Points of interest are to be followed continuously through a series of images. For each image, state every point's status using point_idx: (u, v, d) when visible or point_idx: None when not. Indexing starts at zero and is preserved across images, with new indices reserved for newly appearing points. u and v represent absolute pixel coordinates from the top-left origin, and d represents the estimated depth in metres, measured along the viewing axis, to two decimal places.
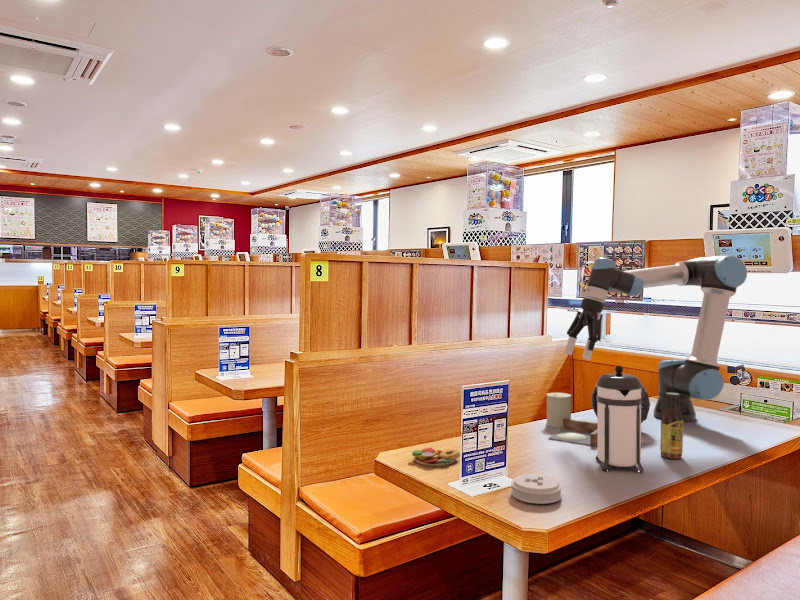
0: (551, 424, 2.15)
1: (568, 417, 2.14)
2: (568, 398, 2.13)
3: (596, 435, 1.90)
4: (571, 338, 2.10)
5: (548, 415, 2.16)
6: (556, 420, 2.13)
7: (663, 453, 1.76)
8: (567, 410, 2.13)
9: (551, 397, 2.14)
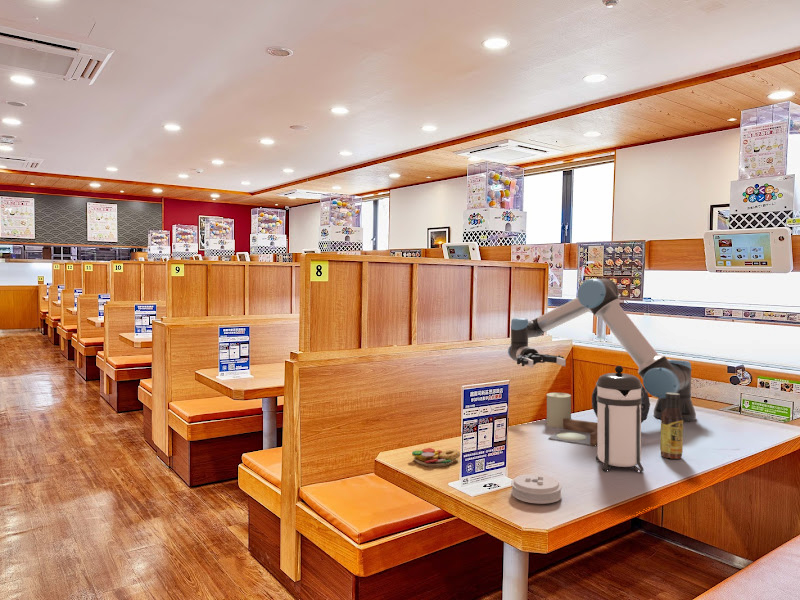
0: (551, 424, 2.15)
1: (568, 417, 2.14)
2: (568, 398, 2.13)
3: (596, 435, 1.90)
4: (557, 362, 2.33)
5: (548, 415, 2.16)
6: (556, 420, 2.13)
7: (663, 453, 1.76)
8: (567, 410, 2.13)
9: (551, 397, 2.14)
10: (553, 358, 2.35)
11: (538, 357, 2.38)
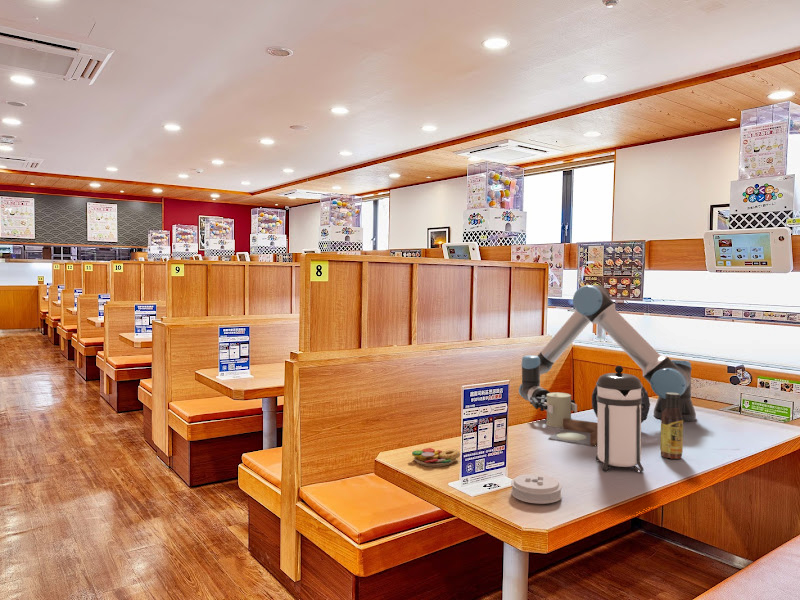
0: (551, 424, 2.15)
1: (568, 417, 2.14)
2: (568, 398, 2.13)
3: (596, 435, 1.90)
4: None
5: (548, 415, 2.16)
6: (556, 420, 2.13)
7: (663, 453, 1.76)
8: (567, 410, 2.13)
9: (551, 397, 2.14)
10: None
11: None
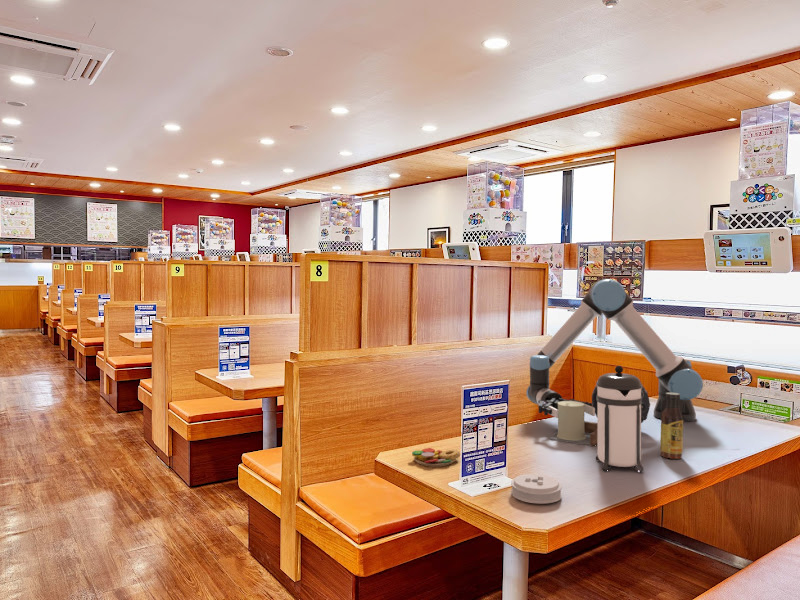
0: (563, 436, 1.97)
1: (581, 428, 1.96)
2: (581, 407, 1.95)
3: (596, 435, 1.90)
4: (584, 410, 2.03)
5: (559, 426, 1.98)
6: (569, 432, 1.95)
7: (663, 453, 1.76)
8: (580, 420, 1.95)
9: (563, 406, 1.96)
10: None
11: None
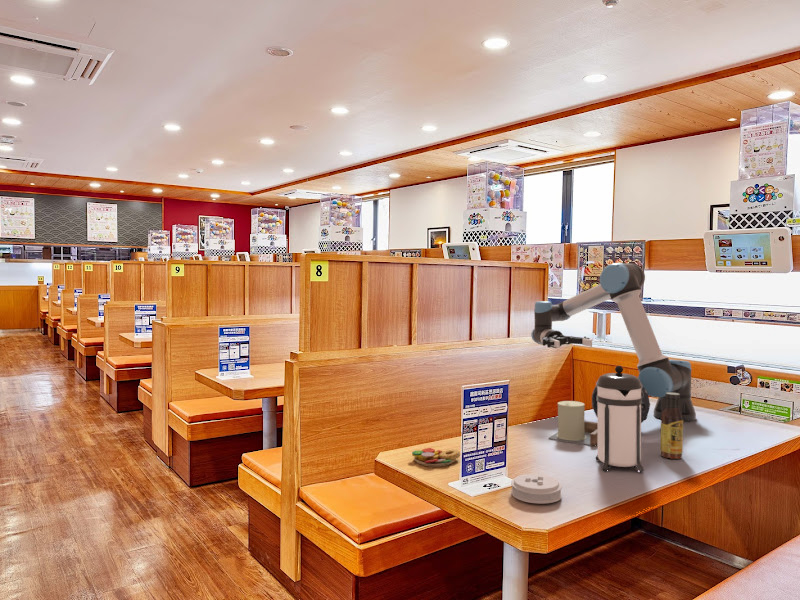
0: (563, 436, 1.97)
1: (581, 428, 1.96)
2: (581, 407, 1.95)
3: (596, 435, 1.90)
4: (583, 343, 2.31)
5: (559, 426, 1.98)
6: (569, 431, 1.95)
7: (663, 453, 1.76)
8: (580, 420, 1.95)
9: (563, 406, 1.96)
10: (579, 339, 2.34)
11: (563, 339, 2.36)
